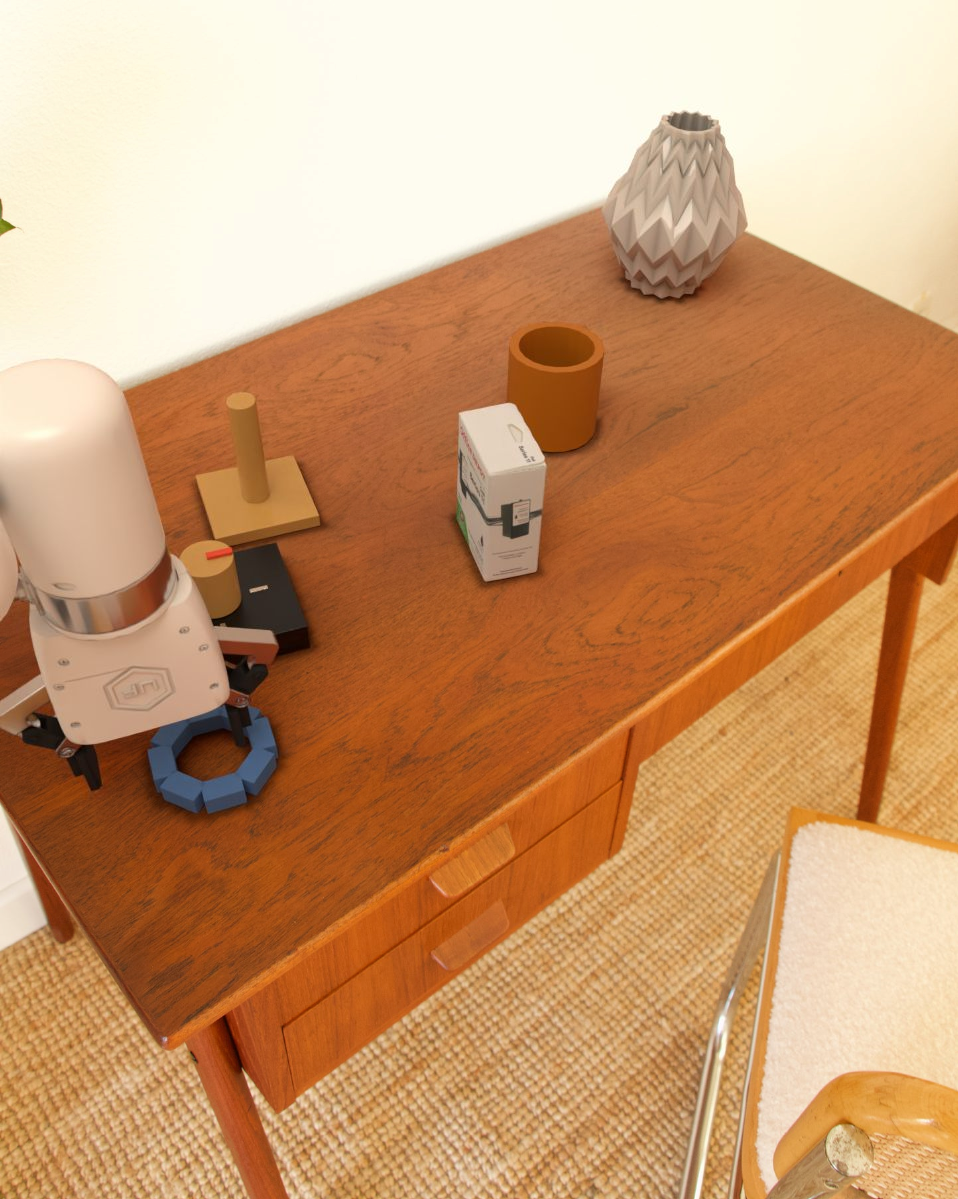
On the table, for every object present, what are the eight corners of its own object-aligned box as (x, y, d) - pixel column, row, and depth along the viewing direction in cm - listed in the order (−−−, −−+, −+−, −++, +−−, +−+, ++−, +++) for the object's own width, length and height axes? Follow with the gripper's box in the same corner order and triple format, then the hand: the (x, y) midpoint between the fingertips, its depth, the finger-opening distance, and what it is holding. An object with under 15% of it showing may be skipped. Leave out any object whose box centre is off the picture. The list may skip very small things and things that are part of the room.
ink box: (453, 518, 90) (455, 407, 82) (506, 508, 92) (513, 398, 83) (483, 585, 85) (488, 473, 76) (539, 574, 86) (550, 462, 77)
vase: (721, 252, 127) (754, 96, 113) (739, 321, 115) (778, 156, 102) (590, 245, 127) (609, 88, 114) (595, 314, 115) (617, 148, 102)
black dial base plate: (153, 688, 76) (146, 665, 74) (133, 598, 82) (126, 574, 80) (310, 647, 79) (307, 624, 77) (279, 563, 86) (276, 540, 84)
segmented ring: (165, 827, 68) (160, 814, 67) (145, 732, 73) (140, 718, 72) (288, 790, 70) (286, 777, 69) (260, 700, 76) (258, 686, 74)
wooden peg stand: (217, 549, 87) (195, 443, 79) (197, 485, 92) (174, 380, 84) (320, 525, 89) (309, 420, 81) (294, 464, 95) (281, 361, 87)
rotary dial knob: (194, 624, 77) (183, 579, 74) (184, 589, 80) (173, 544, 76) (246, 611, 78) (238, 566, 75) (235, 577, 81) (226, 532, 77)
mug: (630, 410, 103) (643, 331, 96) (558, 465, 96) (567, 384, 90) (560, 376, 107) (568, 298, 100) (486, 426, 100) (489, 346, 94)
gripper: (-60, 664, 52) (39, 837, 65) (272, 579, 57) (305, 757, 69) (-64, 568, 57) (29, 746, 69) (242, 497, 62) (278, 676, 74)
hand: (167, 751), depth 69 cm, fingers open, 9 cm apart
